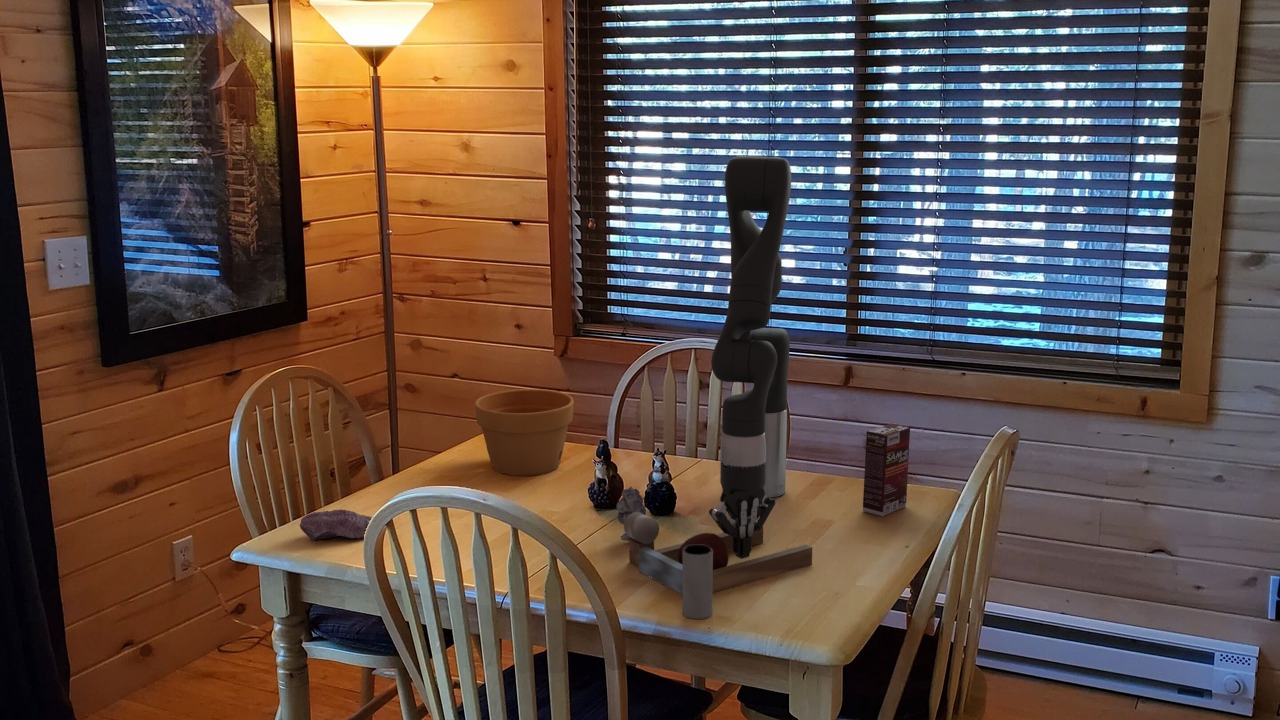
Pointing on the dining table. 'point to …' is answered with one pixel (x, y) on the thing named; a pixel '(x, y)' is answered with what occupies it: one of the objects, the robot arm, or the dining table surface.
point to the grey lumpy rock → (629, 506)
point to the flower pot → (525, 429)
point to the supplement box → (886, 469)
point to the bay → (670, 571)
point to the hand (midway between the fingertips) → (741, 556)
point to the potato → (714, 542)
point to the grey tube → (697, 581)
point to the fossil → (334, 524)
